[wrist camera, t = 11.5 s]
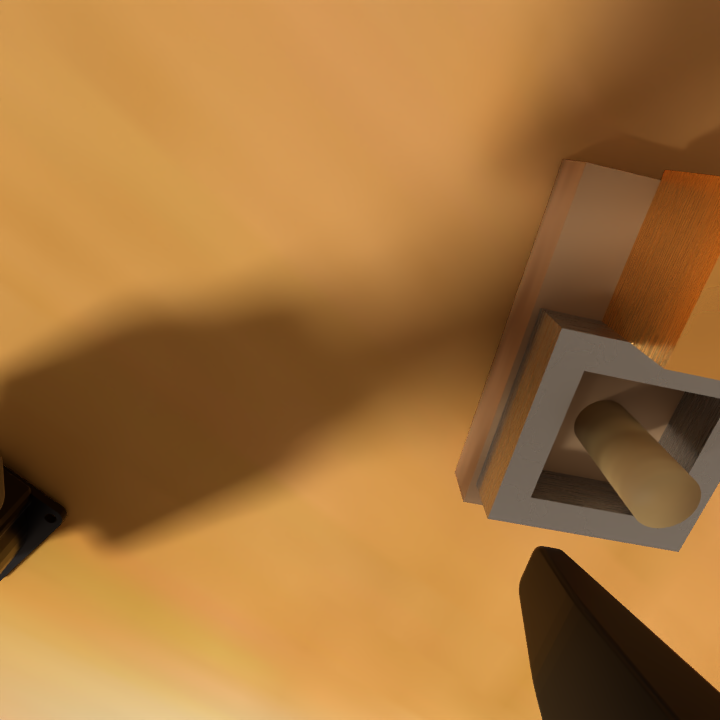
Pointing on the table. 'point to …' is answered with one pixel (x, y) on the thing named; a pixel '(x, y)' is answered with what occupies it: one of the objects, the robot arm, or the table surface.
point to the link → (622, 375)
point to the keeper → (595, 391)
